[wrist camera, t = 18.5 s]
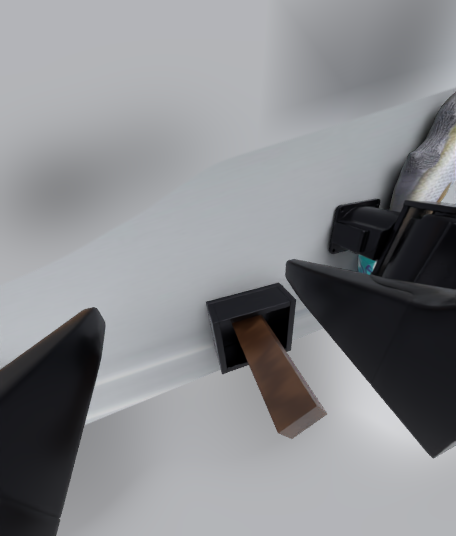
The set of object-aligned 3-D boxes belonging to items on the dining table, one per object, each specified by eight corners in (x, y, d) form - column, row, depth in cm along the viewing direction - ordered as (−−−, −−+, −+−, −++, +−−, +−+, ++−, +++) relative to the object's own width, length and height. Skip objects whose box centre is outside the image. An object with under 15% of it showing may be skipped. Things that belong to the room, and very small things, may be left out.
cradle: (279, 282, 26) (296, 299, 23) (276, 330, 31) (291, 350, 27) (205, 301, 24) (212, 323, 21) (215, 349, 29) (222, 374, 25)
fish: (496, 80, 23) (484, 6, 18) (557, 65, 19) (563, -32, 14) (378, 251, 29) (346, 232, 24) (409, 262, 26) (378, 242, 21)
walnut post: (253, 306, 26) (317, 405, 15) (263, 317, 28) (327, 414, 17) (231, 323, 26) (277, 433, 15) (242, 333, 28) (291, 439, 17)
